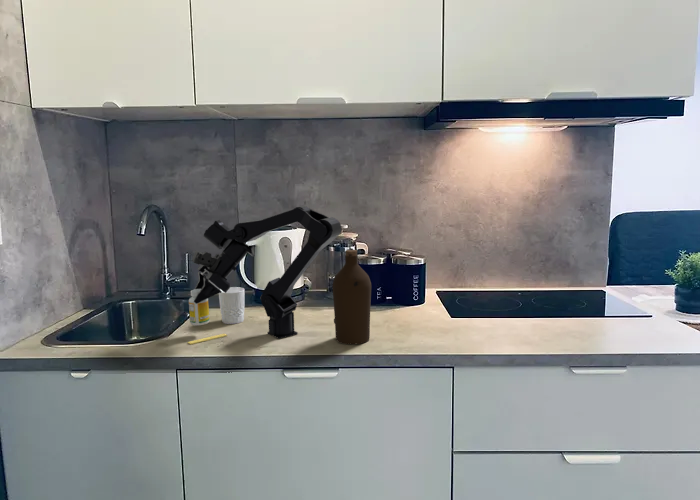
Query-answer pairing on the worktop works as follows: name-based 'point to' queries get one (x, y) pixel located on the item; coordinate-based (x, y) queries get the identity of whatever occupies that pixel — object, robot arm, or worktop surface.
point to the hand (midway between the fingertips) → (193, 300)
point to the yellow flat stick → (207, 339)
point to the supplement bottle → (198, 310)
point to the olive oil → (352, 302)
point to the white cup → (232, 305)
